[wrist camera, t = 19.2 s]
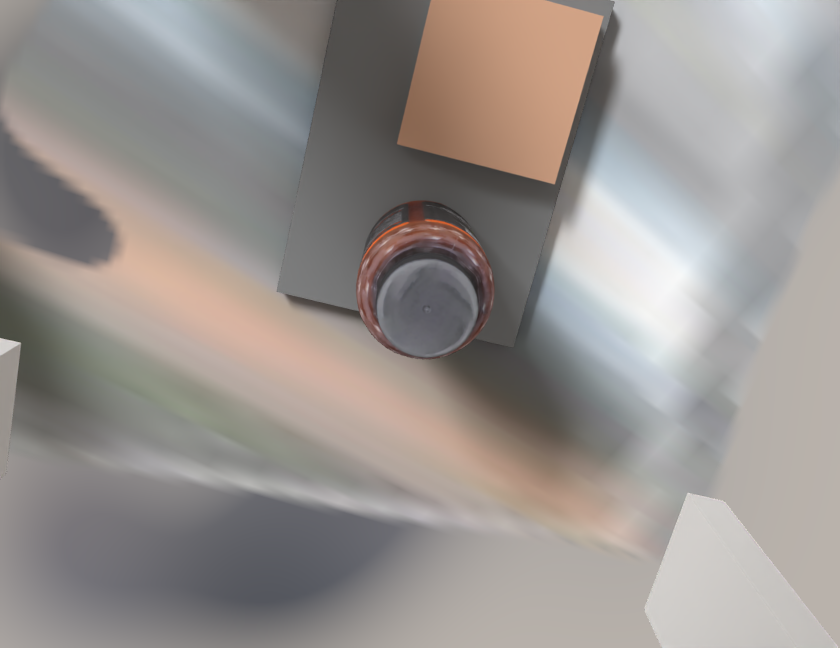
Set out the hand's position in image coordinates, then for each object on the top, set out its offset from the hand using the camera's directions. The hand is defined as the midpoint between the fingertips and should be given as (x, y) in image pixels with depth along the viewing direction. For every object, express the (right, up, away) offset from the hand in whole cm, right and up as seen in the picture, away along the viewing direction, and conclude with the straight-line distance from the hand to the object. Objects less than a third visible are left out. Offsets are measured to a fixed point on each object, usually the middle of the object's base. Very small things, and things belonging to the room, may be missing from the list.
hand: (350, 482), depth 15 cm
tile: (+1, +16, +23) cm, 28 cm away
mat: (+2, +12, +26) cm, 28 cm away
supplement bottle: (+1, +7, +26) cm, 27 cm away
